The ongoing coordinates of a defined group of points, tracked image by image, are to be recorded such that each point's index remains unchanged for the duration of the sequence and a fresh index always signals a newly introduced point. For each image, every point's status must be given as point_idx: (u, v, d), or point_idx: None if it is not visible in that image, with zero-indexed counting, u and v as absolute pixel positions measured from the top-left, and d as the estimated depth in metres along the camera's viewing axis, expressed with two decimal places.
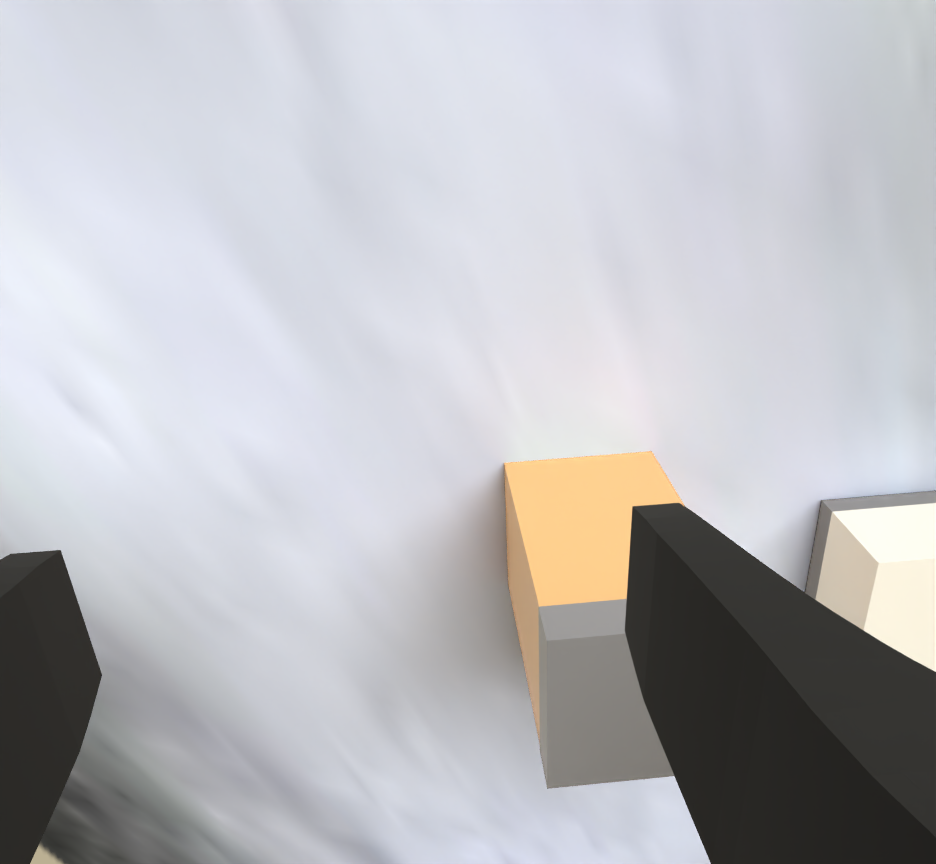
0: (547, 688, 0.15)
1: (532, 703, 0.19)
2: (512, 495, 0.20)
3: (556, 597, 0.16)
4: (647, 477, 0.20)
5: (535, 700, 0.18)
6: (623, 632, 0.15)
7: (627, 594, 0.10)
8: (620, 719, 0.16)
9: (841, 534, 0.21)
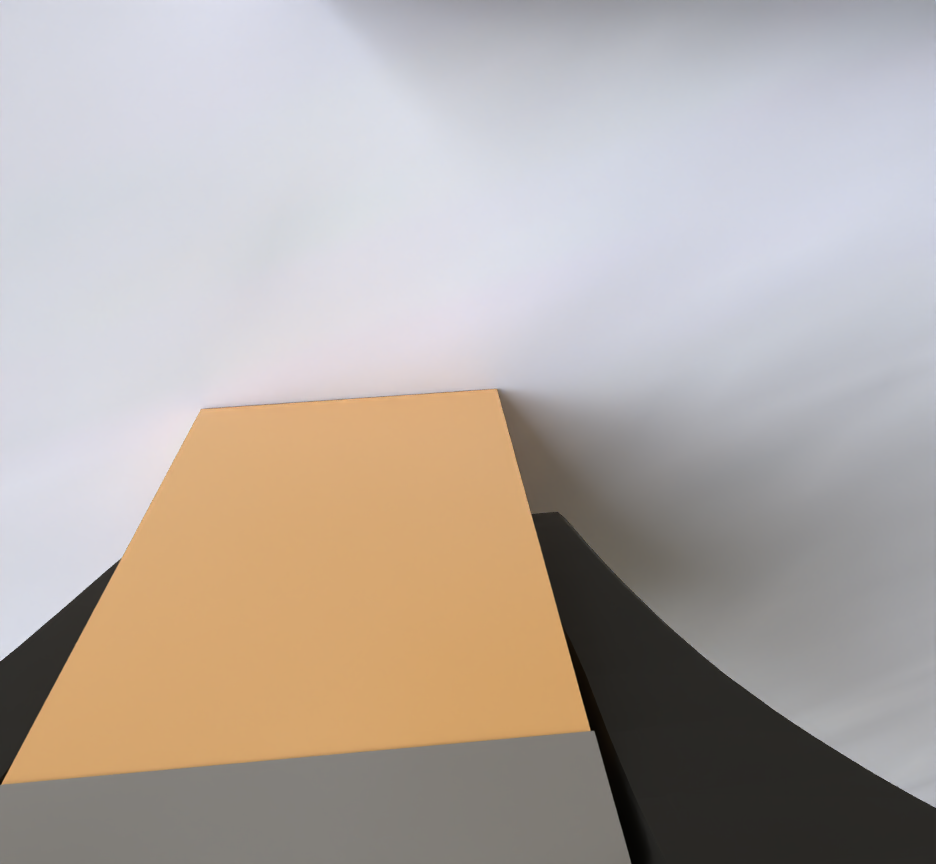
0: None
1: None
2: None
3: None
4: None
5: None
6: None
7: None
8: None
9: None
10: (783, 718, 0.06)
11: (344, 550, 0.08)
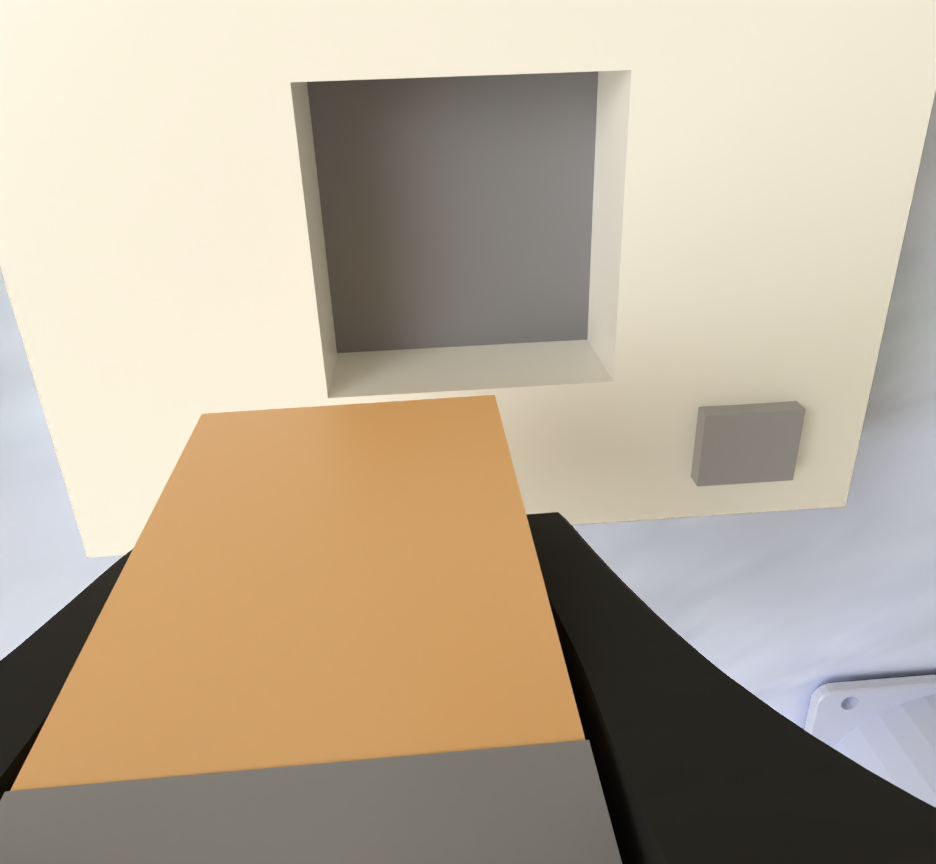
0: None
1: None
2: None
3: None
4: None
5: None
6: None
7: None
8: None
9: None
10: (784, 718, 0.06)
11: (344, 558, 0.08)
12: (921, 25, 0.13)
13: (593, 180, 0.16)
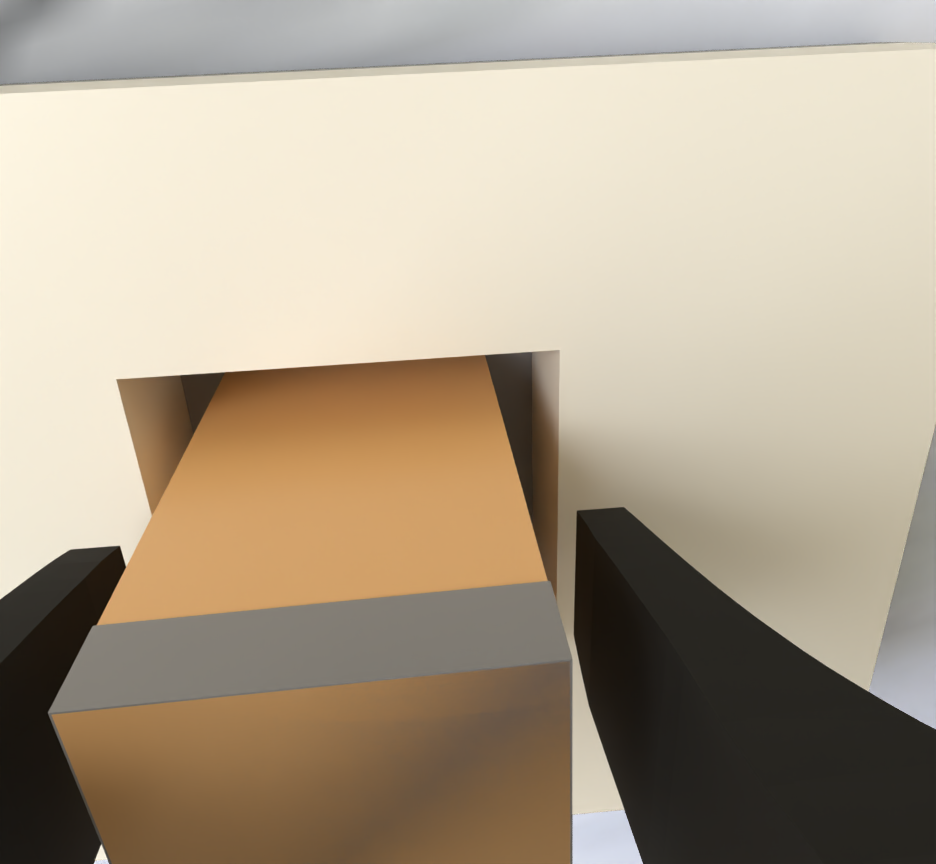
0: None
1: None
2: None
3: None
4: None
5: None
6: None
7: (575, 598, 0.10)
8: None
9: None
10: (893, 708, 0.06)
11: (353, 469, 0.09)
12: (933, 287, 0.10)
13: (532, 418, 0.13)
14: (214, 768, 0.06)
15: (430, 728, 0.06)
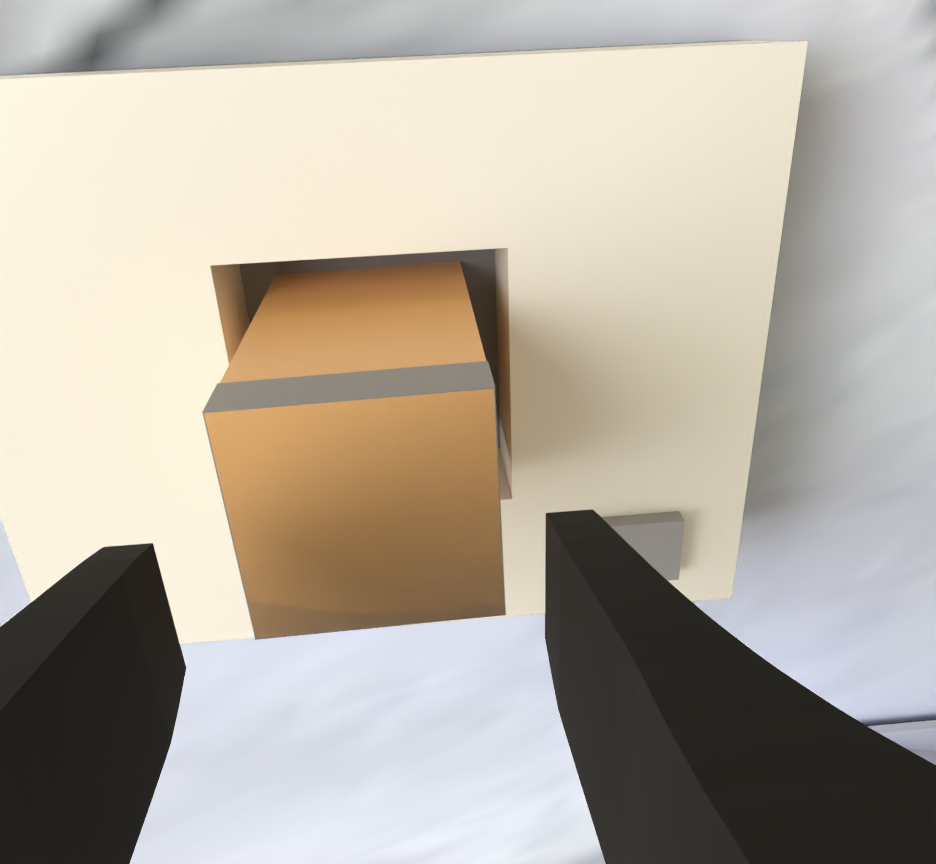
0: (331, 631, 0.13)
1: None
2: None
3: None
4: None
5: None
6: None
7: (546, 600, 0.10)
8: (384, 549, 0.12)
9: None
10: (841, 713, 0.06)
11: (369, 320, 0.14)
12: (760, 205, 0.15)
13: (496, 315, 0.18)
14: (292, 454, 0.11)
15: (416, 431, 0.11)
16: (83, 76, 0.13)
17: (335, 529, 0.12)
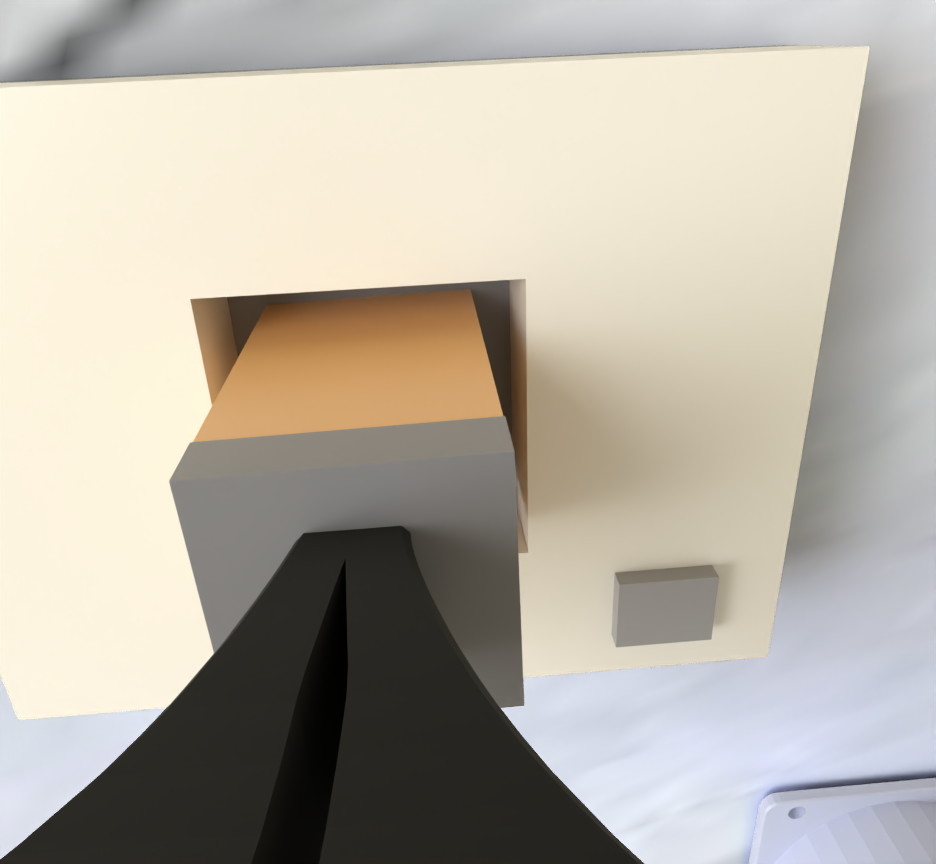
0: None
1: None
2: None
3: None
4: None
5: None
6: (213, 649, 0.10)
7: None
8: None
9: None
10: (519, 742, 0.06)
11: (368, 361, 0.12)
12: (811, 231, 0.13)
13: (510, 347, 0.16)
14: (275, 528, 0.10)
15: (420, 502, 0.10)
16: (43, 86, 0.11)
17: None
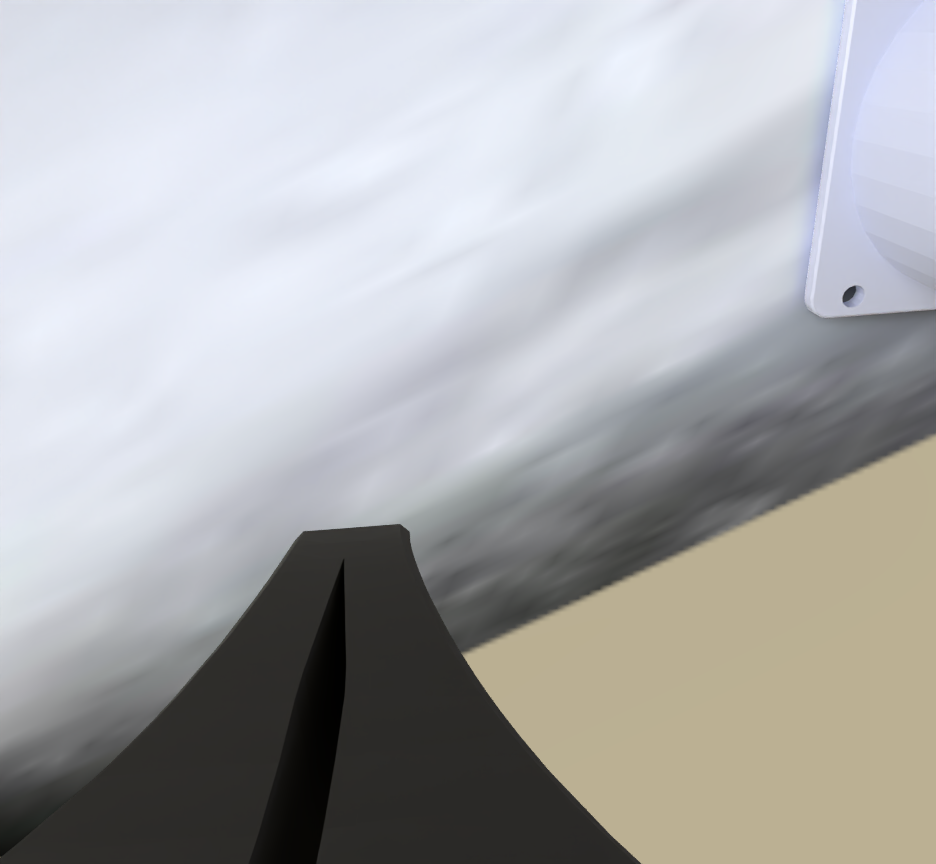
0: None
1: None
2: None
3: None
4: None
5: None
6: None
7: None
8: None
9: None
10: (517, 742, 0.06)
11: None
12: None
13: None
14: None
15: None
16: None
17: None
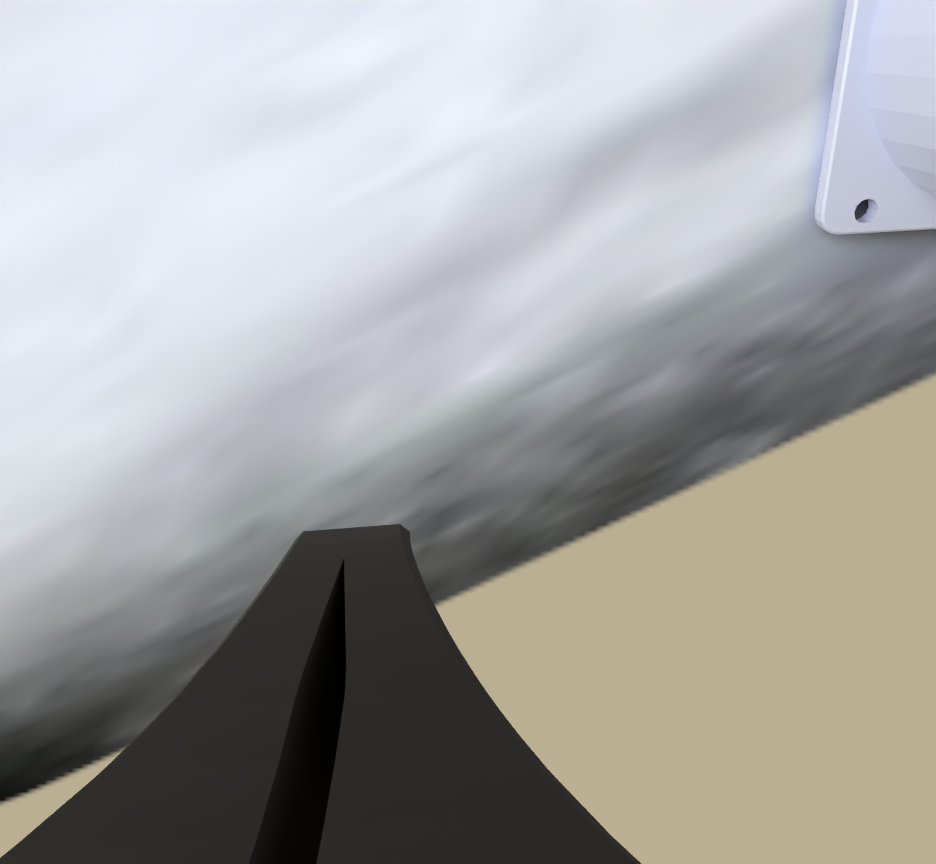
0: None
1: None
2: None
3: None
4: None
5: None
6: None
7: None
8: None
9: None
10: (517, 742, 0.06)
11: None
12: None
13: None
14: None
15: None
16: None
17: None
